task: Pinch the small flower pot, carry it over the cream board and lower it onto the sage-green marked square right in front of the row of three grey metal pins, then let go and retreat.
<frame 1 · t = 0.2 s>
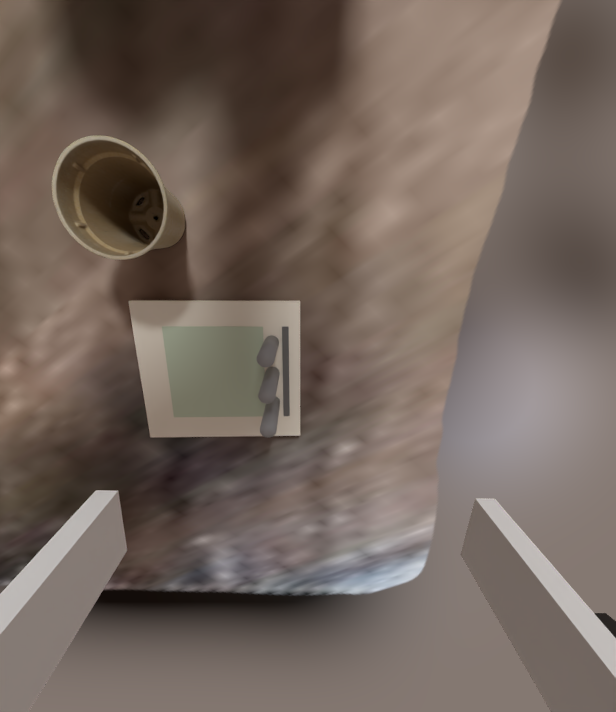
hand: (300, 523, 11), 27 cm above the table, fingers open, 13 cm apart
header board: (223, 370, 38), on the table
flower pot: (158, 219, 33), on the table
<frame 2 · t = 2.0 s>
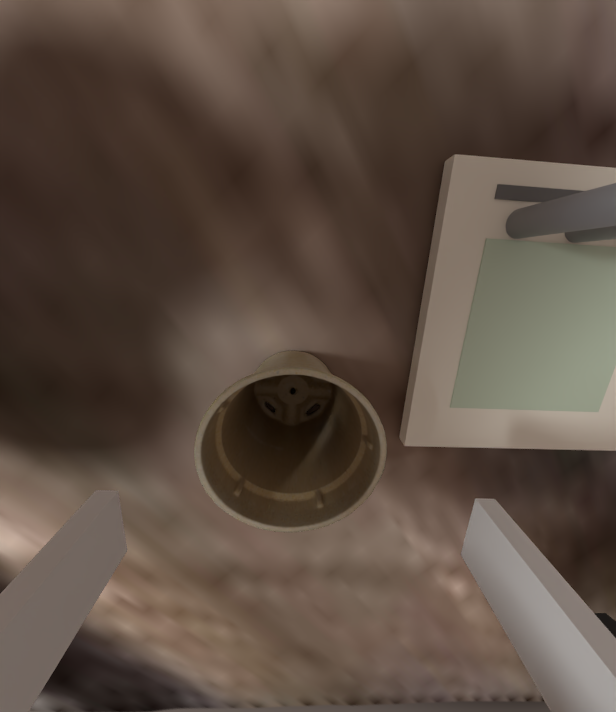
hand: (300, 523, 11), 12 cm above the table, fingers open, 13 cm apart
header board: (535, 323, 22), on the table
flower pot: (292, 388, 23), on the table
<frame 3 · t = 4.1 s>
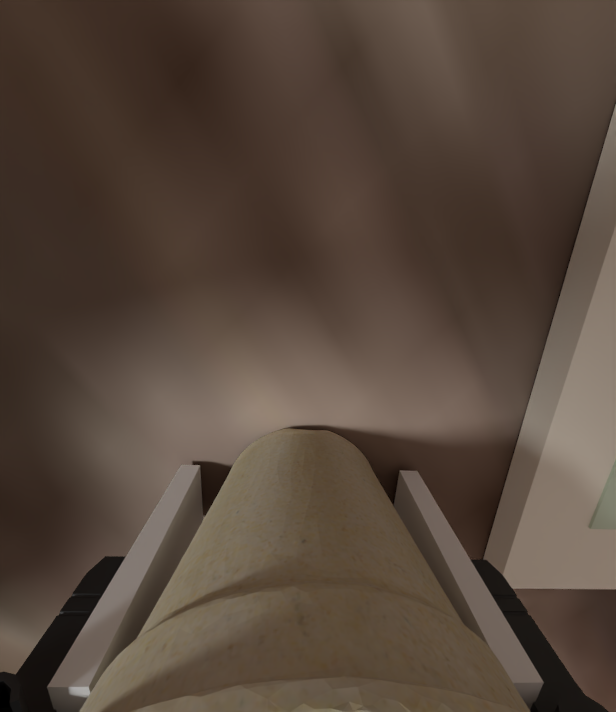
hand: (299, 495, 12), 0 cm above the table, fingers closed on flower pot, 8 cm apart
flower pot: (300, 486, 13), on the table, touching gripper
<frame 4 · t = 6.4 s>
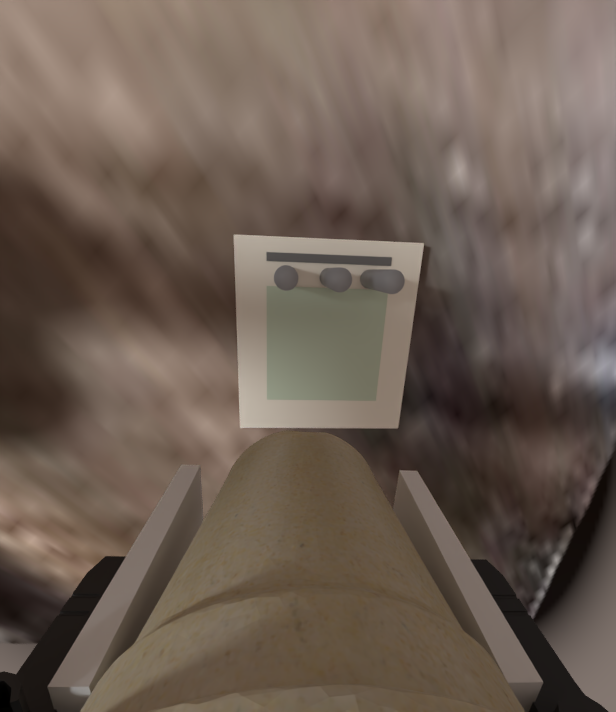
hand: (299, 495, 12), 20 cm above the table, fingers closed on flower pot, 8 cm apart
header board: (323, 339, 31), on the table
flower pot: (299, 488, 13), point 20 cm above the table, touching gripper
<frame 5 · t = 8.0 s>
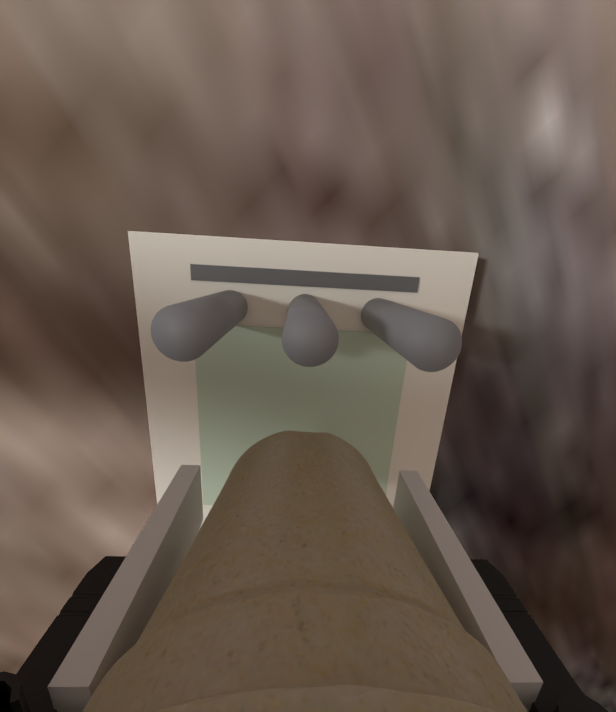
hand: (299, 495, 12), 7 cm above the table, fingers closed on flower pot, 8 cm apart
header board: (299, 409, 19), on the table
flower pot: (300, 488, 13), point 6 cm above the table, touching gripper
when the fingers open (3 cm above the table, at t = 9.1 s): flower pot moves 4 cm, resting on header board.
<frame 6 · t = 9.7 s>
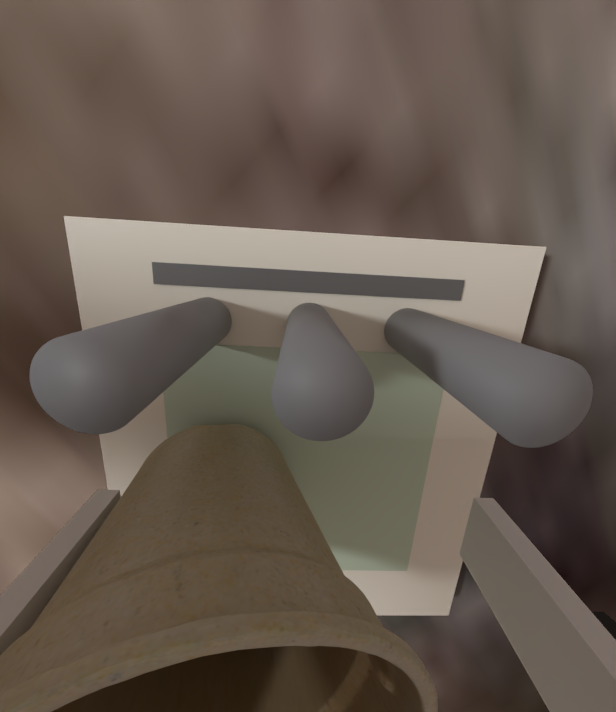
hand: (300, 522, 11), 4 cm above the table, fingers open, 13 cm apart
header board: (300, 447, 15), on the table
flower pot: (216, 480, 13), point 2 cm above the table, touching gripper, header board
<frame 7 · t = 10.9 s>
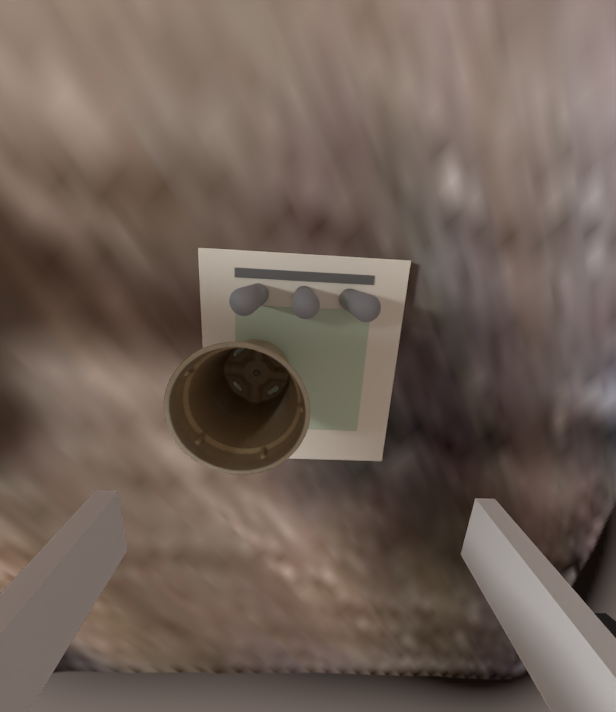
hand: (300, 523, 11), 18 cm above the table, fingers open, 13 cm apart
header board: (300, 362, 28), on the table
flower pot: (257, 371, 27), point 1 cm above the table, touching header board
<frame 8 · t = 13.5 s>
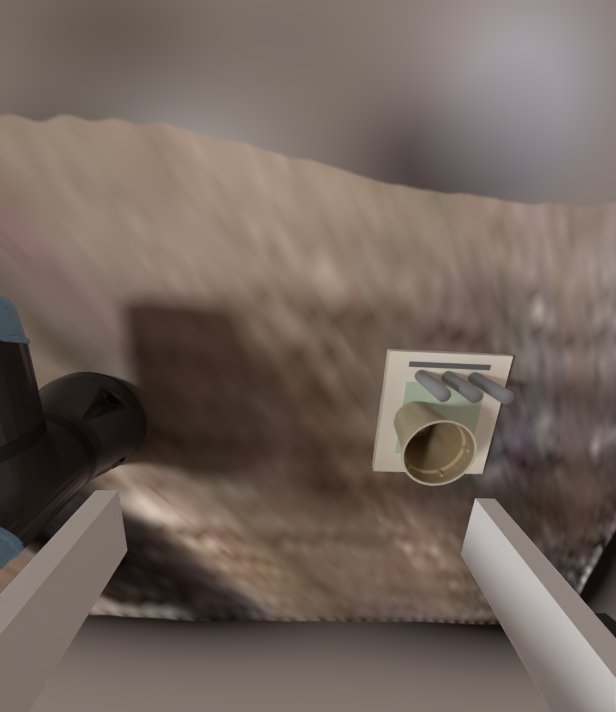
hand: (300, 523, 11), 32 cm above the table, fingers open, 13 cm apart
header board: (436, 413, 45), on the table
flower pot: (412, 419, 44), point 1 cm above the table, touching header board
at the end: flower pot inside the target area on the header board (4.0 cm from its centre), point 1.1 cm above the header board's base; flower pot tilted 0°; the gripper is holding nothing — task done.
